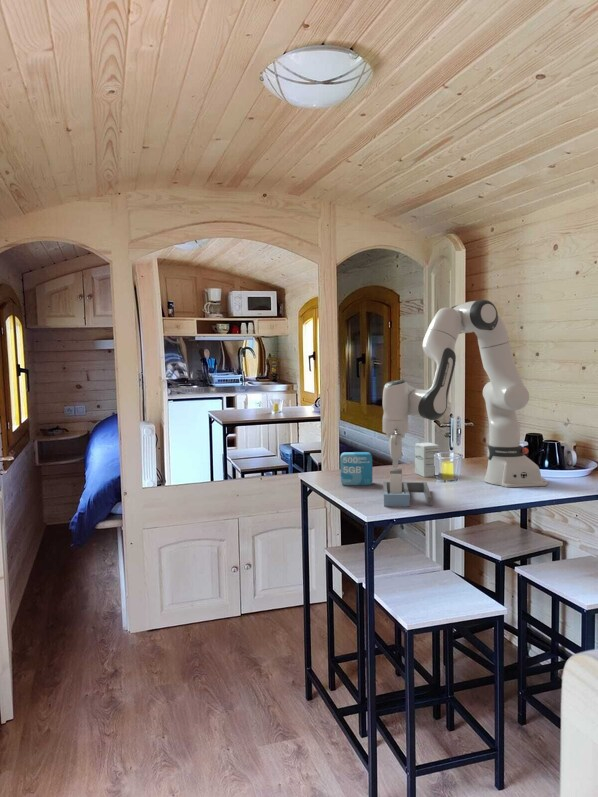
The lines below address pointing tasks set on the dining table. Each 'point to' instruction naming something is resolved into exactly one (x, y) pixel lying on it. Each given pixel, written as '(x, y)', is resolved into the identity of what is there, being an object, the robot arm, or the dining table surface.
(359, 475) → the data package
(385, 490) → the grey open compartment holder
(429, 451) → the supplement box
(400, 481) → the beige rectangular block
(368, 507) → the dining table surface
